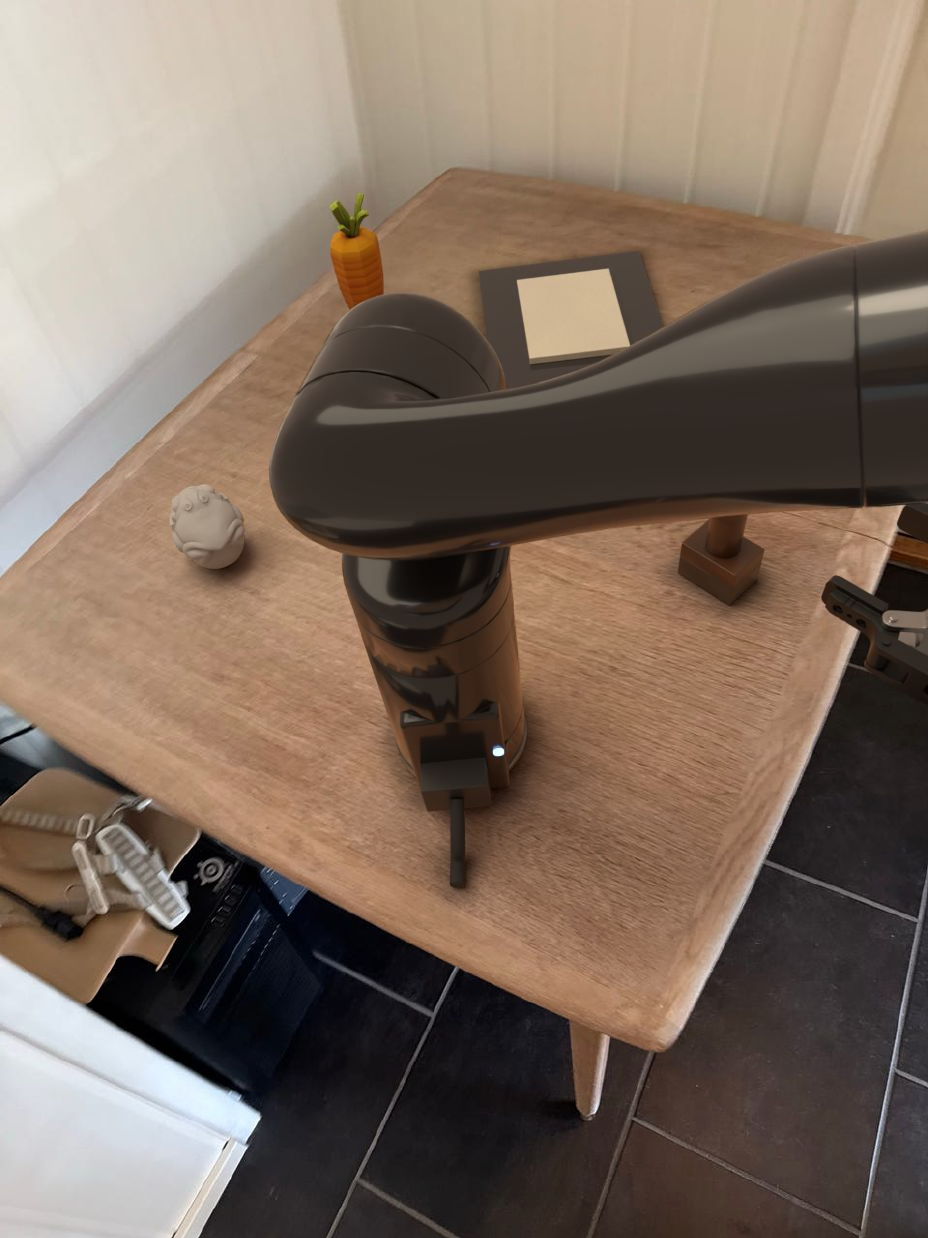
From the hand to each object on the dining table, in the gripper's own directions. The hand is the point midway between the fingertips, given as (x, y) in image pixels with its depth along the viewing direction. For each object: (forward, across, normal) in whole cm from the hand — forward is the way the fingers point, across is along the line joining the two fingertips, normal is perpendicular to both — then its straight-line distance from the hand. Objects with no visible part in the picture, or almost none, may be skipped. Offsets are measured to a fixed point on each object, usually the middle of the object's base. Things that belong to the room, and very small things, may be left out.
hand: (865, 548), depth 56 cm
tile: (+42, -18, +11) cm, 47 cm away
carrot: (+57, -3, +11) cm, 58 cm away
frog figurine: (+42, +26, +11) cm, 51 cm away
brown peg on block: (+10, 0, +11) cm, 15 cm away
